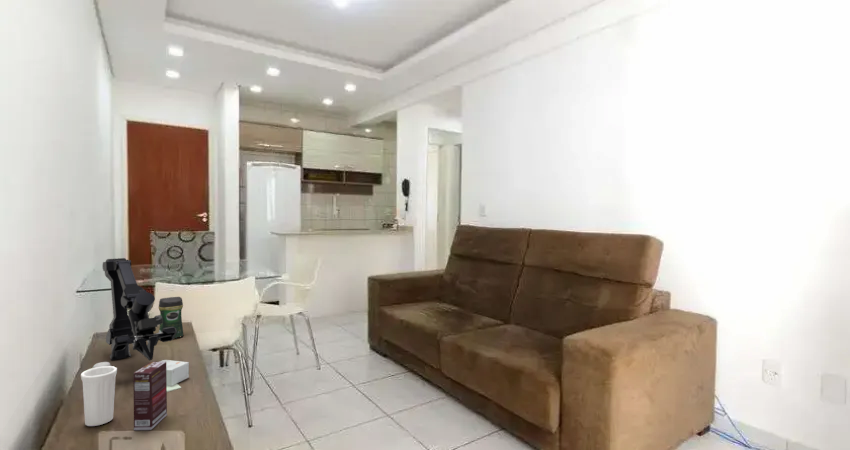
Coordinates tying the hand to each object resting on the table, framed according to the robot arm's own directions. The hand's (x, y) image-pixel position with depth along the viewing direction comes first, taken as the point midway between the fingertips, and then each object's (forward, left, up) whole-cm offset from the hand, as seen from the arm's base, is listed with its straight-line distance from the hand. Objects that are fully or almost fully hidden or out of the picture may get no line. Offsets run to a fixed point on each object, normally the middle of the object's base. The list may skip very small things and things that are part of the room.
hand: (151, 359), depth 146 cm
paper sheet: (+7, +1, -8) cm, 11 cm away
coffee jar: (-51, +14, -8) cm, 54 cm away
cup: (+24, -15, -8) cm, 29 cm away
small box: (-1, +1, -4) cm, 5 cm away
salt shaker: (+13, -14, -8) cm, 20 cm away
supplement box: (+33, -4, -8) cm, 34 cm away
